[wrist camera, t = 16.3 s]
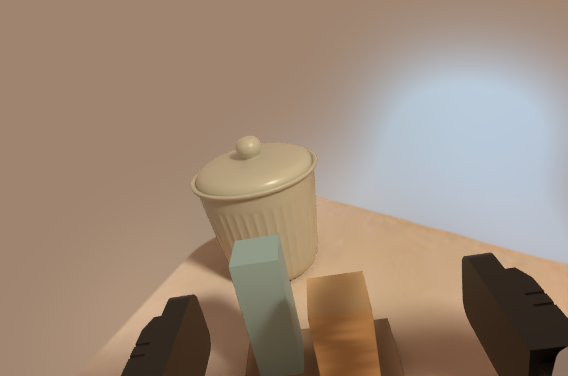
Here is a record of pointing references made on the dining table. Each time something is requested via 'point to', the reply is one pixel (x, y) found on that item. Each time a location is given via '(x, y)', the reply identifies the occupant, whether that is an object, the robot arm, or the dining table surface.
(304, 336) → the frame base
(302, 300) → the dining table surface
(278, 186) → the canister
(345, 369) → the oak post
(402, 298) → the dining table surface
